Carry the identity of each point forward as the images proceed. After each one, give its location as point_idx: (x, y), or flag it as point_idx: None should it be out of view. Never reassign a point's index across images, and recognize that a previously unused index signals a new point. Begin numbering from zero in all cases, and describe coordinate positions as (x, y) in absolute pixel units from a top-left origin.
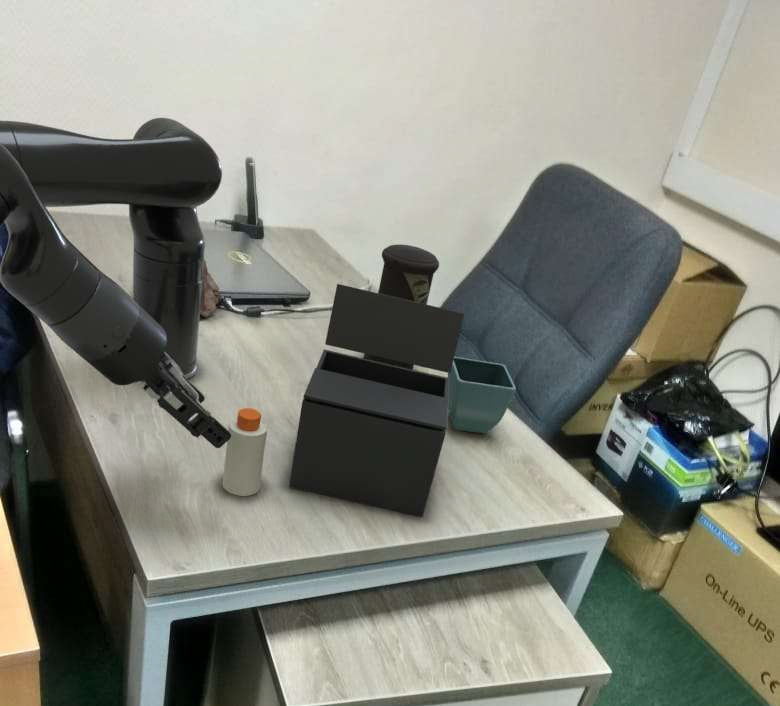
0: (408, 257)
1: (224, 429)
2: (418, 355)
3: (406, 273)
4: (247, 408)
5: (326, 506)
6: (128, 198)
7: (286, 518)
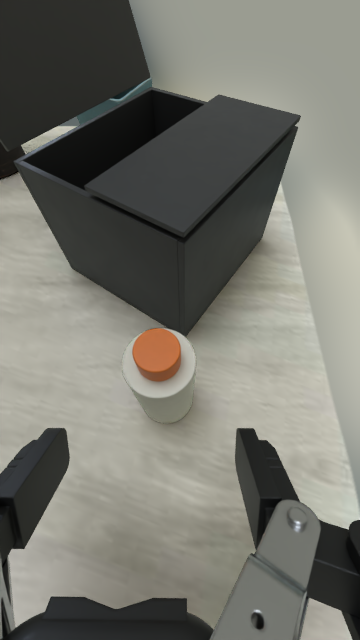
0: None
1: (260, 447)
2: (113, 74)
3: None
4: (135, 345)
5: (230, 312)
6: None
7: (249, 366)
